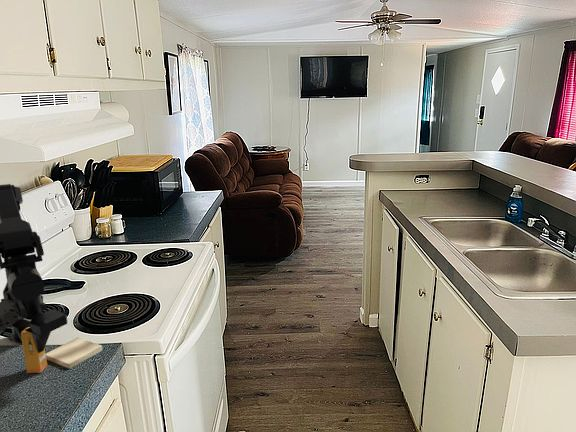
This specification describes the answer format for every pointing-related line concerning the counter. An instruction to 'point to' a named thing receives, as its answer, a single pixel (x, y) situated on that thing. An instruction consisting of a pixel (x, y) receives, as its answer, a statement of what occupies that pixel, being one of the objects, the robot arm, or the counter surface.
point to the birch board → (73, 352)
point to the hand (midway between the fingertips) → (34, 349)
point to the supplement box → (32, 354)
